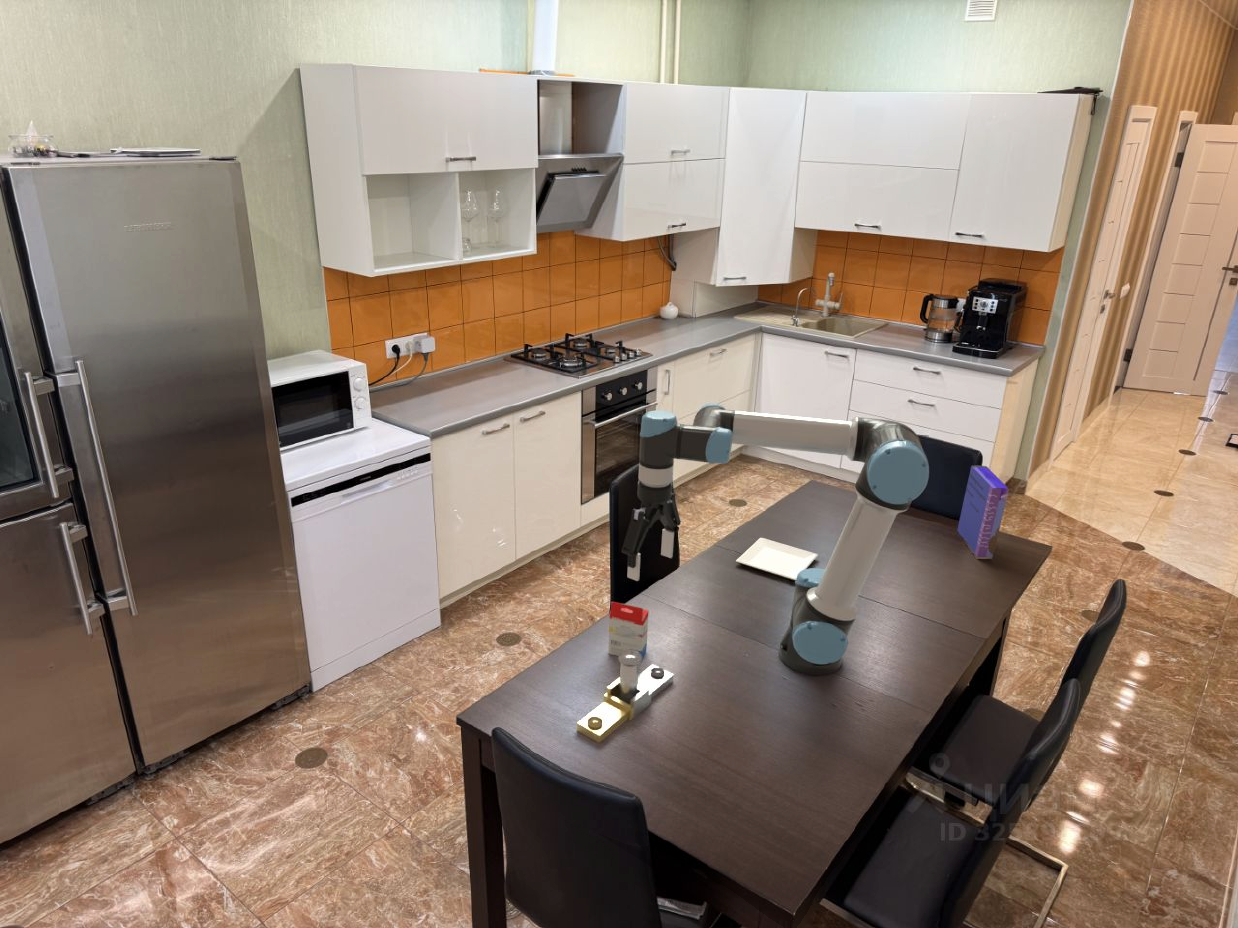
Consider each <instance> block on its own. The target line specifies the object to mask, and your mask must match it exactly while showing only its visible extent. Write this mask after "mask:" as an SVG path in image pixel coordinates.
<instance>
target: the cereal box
mask: <svg viewBox="0 0 1238 928" xmlns="http://www.w3.org/2000/svg"><path fill="white" fill-rule="evenodd" d="M968 474H969V476H968V479H967V485H966V489H965V494H964V498H963V502H962V508H961V510H960V511H961V512H960V517H959V521H958V524H957V525H958V526H957V530H956V532H957V531H958V532H959V534H960V535H961V536H962V537H963V538H964V540H965V541H966V542H967V543H968V545H969V546H970V548H971V549H972V550H973V552H974V553H975V554H976V556H977V557H993V558H994V553H995V550H996V545H997V542H998V538H999V532H1000V529H1001V528H1000V527H1001V525H1002V520H1003V516H1004V513H1005V507H1006V504H1007V499H1008V494H1009V491H1010V489H1009V487H1008V486H1007V485H1006V484H1005V483H1004V482H1003V481H1002V480H1001V479H1000V478H999V477H998V476H997V475H996V474H995V473H994V472H993V471H992V470H991V469H990V468H989V467H988V466H987V465H979V464H978V465H977V464H975V465H971V466H970V471H969V473H968Z"/></svg>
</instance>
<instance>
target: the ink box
mask: <svg viewBox="0 0 1238 928" xmlns="http://www.w3.org/2000/svg"><path fill="white" fill-rule="evenodd" d="M648 626H649V609H643V608H642V607H639V606H633V605H630V604H626V603H625V604H624V603H621V602H616V601H611V603H610V611H609V626H608V628H609V631H608V633H609V634H608V647H607V648H608V654H609V655H613V656H617V657H619V653H620V652H622V651H624V650H636V651H638V652H639V653H640V654H641V655H642V659H643V658H644V655H645V654H646V652H647V649H648V628H649V627H648Z"/></svg>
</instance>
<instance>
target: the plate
mask: <svg viewBox="0 0 1238 928" xmlns="http://www.w3.org/2000/svg"><path fill="white" fill-rule="evenodd" d="M818 556H819V554H818V553H814V552H812V551H809V550H805V549H801V548H799V547H795V546H791V545H788V544H785V543H781V542H778V541H774V540H772V539H771V540H770V539H768V538H765V537H759V538H758V539H757V540H756V541H755V542H754V543H753V544H752V545H751V546H750V547H749V548H748V549H747V550H745V551H744V553H743V554H741V555H740V556H739V557H738V558H737V559H736V560H735V562H736V563H737V564H740V565H744V566H747V567H750V568H753V569H755V570H759V571H762V572H765V573H768V574H773V575H775V576H778V577H781V578H785V579H788V580H792V581H796V579H797V575H798V573H799V572H800V571H802V570H804V569H808V567H809V566H810V565H811V564H812V563H813V562H814V560H815V559H816V558H817V557H818Z"/></svg>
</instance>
